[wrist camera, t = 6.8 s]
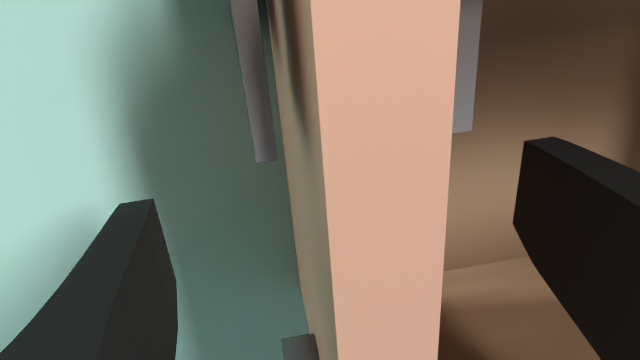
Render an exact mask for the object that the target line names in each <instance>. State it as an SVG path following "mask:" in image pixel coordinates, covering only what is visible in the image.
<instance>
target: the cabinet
mask: <svg viewBox="0 0 640 360" xmlns="http://www.w3.org/2000/svg"><path fill="white" fill-rule="evenodd" d="M229 3H230V10H231V16H232V23H233V29H234V35H235V41H236V47H237V53H238V59H239V64H240V70H241V73H242V80H243V87H244V93H245V99H246V105H247V111H248V117H249V123H250V129H251V134H252V140H253V146H254V152H255V158H256V163H262V162H269V161H275V160H277V153H276V145H275V137H274V130H273V122H272V114H271V106H270V98H269V90H268V83H267V75H266V67H265V59H264V51H263V43H262V36H261V28H260V20H259V12H258V4H257V0H229ZM546 137H557V138H560V139H563V140H566V141H568V142H571V143H573V144H576V145H578V146H581V147H583V148H586V149H588V150H590V151H593V152H595V153H597V154H600V155H602V156H604V157H607V158H609V159H611V160H613V161H616V162H618V163H620V164H623V165H625V166H627V167H629V168H632V169H634V170H636V171H639V172H640V0H461V1H460V16H459V32H458V47H457V63H456V79H455V94H454V110H453V125H452V141H451V156H450V172H449V188H448V203H447V219H446V234H445V250H444V266H443V281H442V297H441V312H440V328H439V344H438V359H437V360H600V358H599V356H598V355H597V353H596V352H595V351H594V349H593V348H592V346H591V345H590V344H589V342H588V341H587V339H586V338H585V337H584V335H583V334H582V332H581V331H580V330H579V328H578V327H577V326H576V324H575V323H574V321H573V320H572V319H571V317H570V316H569V314H568V313H567V312H566V310H565V309H564V307H563V306H562V305H561V303H560V302H559V301H558V299H557V298H556V296H555V295H554V293H553V292H552V291H551V289H550V288H549V286H548V285H547V284H546V282H545V281H544V279H543V278H542V276H541V275H540V274H539V272H538V271H537V269H536V268H535V266H534V265H533V263H532V261H531V259H530V257H529V256H528V254H527V252H526V250H525V248H524V246H523V244H522V242H521V240H520V238H519V236H518V234H517V232H516V230H515V228H514V226H513V224H512V223H513V216H514V209H515V202H516V194H517V187H518V180H519V173H520V166H521V159H522V152H523V145H524V141H527V140H533V139H540V138H546Z"/></svg>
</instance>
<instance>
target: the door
mask: <svg viewBox="0 0 640 360" xmlns="http://www.w3.org/2000/svg"><path fill="white" fill-rule="evenodd" d="M460 1H461V0H266V4H267V12H268V21H269V29H270V37H271V46H272V54H273V62H274V71H275V79H276V88H277V96H278V104H279V113H280V121H281V130H282V138H283V146H284V155H285V163H286V172H287V180H288V188H289V197H290V205H291V213H292V222H293V230H294V239H295V247H296V255H297V264H298V272H299V281H300V289H301V294H302V299H303V304H304V308H305V313H306V318H307V322H308V327H309V332H310V334H307V335H301V336H296V337H290V338H285V339H281V342H282V348H283V355H284V360H437V359H438V344H439V328H440V312H441V297H442V281H443V266H444V250H445V234H446V219H447V203H448V188H449V172H450V156H451V141H452V125H453V110H454V94H455V79H456V63H457V47H458V32H459V16H460Z"/></svg>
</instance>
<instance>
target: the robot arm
mask: <svg viewBox="0 0 640 360" xmlns="http://www.w3.org/2000/svg"><path fill="white" fill-rule="evenodd" d="M512 224H513V226H514V228H515V230H516V232H517V234H518V236H519V238H520V240H521V242H522V244H523V246H524V248H525V250H526V252H527V254H528V256H529V257H530V259H531V261H532V263H533V265H534V266H535V268H536V269H537V271H538V272H539V274H540V275H541V276H542V278H543V279H544V281H545V282H546V284H547V285H548V286H549V288H550V289H551V291H552V292H553V293H554V295H555V296H556V298H557V299H558V301H559V302H560V303H561V305H562V306H563V307H564V309H565V310H566V312H567V313H568V314H569V316H570V317H571V319H572V320H573V321H574V323H575V324H576V326H577V327H578V328H579V330H580V331H581V332H582V334H583V335H584V337H585V338H586V339H587V341H588V342H589V344H590V345H591V346H592V348H593V349H594V351H595V352H596V353H597V355H598V356H599V358H600V360H640V172H639V171H636V170H634V169H632V168H629V167H627V166H625V165H623V164H620V163H618V162H616V161H613V160H611V159H609V158H607V157H604V156H602V155H600V154H597V153H595V152H593V151H590V150H588V149H586V148H583V147H581V146H578V145H576V144H573V143H571V142H568V141H566V140H563V139H560V138H557V137H546V138H540V139H533V140H527V141H524V145H523V152H522V159H521V166H520V173H519V180H518V187H517V194H516V202H515V209H514V216H513V223H512ZM177 332H178V317H177V289H176V279H175V275H174V271H173V268H172V264H171V260H170V257H169V253H168V250H167V246H166V242H165V239H164V235H163V232H162V228H161V224H160V221H159V217H158V213H157V210H156V206H155V203H154V199H147V200H141V201H134V202H128V203H122V204H119V205H118V207H117V208H116V209H115V211H114V212H113V213H112V215H111V216H110V218H109V219H108V220H107V222H106V223H105V225H104V226H103V228H102V229H101V231H100V232H99V233H98V235H97V236H96V238H95V239H94V241H93V242H92V243H91V245H90V246H89V248H88V249H87V251H86V252H85V253H84V255H83V256H82V257H81V259H80V260H79V261H78V263H77V264H76V265H75V267H74V268H73V269H72V271H71V272H70V273H69V275H68V276H67V277H66V279H65V280H64V281H63V283H62V284H61V285H60V287H59V288H58V289H57V290H56V291H55V293H54V294H53V295H52V296H51V297H50V299H49V300H48V301H47V302H46V303H45V305H44V306H43V307H42V308H41V310H40V311H39V312H38V313H37V314H36V316H35V317H34V318H33V319H32V320H31V321H30V322H29V324H28V325H27V326H26V327H25V328H24V329H23V330H22V331H21V332H20V333H19V334H18V335H17V336H16V338H15V339H14V340H13V341H12V342H11V343H10V344H9V345H8V346H7V347H6V348H5V349H4V350H3V351H2V352H1V353H0V360H175V355H176V344H177Z"/></svg>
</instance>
